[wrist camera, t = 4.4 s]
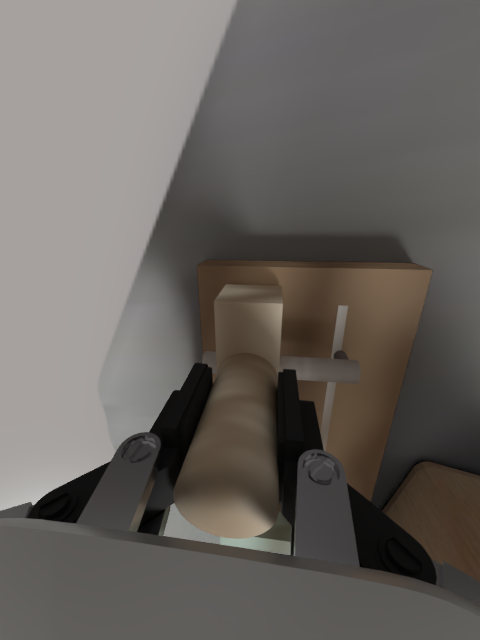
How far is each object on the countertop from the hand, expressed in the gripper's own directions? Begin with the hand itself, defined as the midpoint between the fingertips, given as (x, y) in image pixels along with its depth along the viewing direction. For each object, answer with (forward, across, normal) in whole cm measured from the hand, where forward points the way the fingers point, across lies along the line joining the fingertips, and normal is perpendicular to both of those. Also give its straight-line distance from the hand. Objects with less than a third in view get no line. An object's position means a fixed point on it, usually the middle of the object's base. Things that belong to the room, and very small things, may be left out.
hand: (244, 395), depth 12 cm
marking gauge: (+4, -1, 0) cm, 4 cm away
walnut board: (+7, -3, +6) cm, 9 cm away
